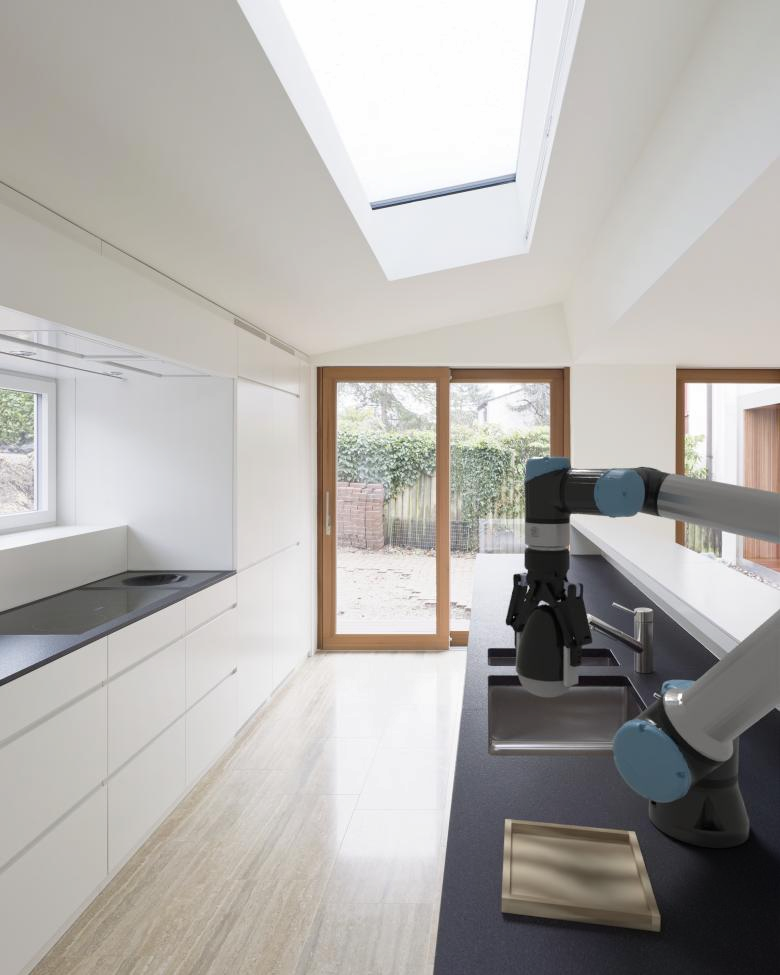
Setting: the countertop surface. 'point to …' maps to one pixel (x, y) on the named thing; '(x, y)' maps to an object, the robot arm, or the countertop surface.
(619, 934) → the countertop surface
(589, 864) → the birch tray
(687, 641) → the countertop surface
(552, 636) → the pump dispenser
